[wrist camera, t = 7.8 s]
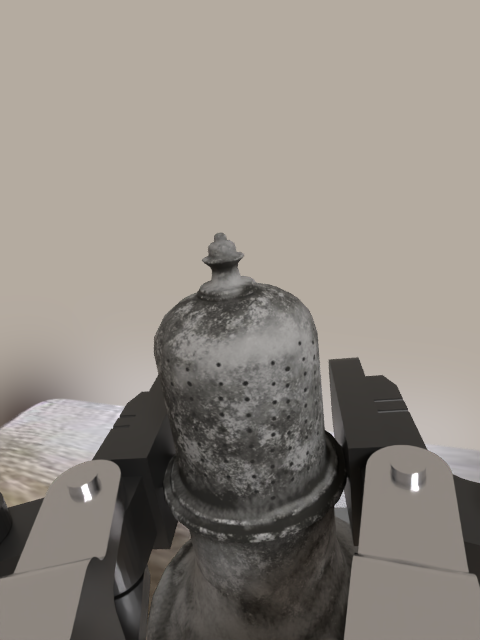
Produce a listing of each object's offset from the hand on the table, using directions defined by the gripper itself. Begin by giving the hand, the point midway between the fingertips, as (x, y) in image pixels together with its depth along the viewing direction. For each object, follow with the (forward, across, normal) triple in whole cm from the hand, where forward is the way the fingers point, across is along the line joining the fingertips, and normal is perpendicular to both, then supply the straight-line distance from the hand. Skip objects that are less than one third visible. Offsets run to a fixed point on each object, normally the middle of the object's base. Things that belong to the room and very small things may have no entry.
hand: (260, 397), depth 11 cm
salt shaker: (-3, 0, +7) cm, 8 cm away
